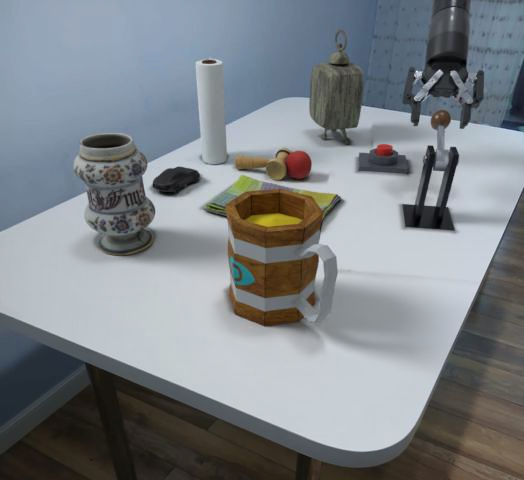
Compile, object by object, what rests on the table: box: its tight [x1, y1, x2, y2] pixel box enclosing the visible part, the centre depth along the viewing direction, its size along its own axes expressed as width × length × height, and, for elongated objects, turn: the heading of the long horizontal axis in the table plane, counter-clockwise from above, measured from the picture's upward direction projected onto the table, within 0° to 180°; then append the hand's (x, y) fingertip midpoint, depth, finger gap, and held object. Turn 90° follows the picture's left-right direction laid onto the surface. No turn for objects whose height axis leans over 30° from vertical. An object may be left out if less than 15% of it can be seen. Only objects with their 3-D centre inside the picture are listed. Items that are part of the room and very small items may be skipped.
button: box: [376, 143, 394, 156], centre depth 114 cm, size 4×4×2 cm
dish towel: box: [202, 174, 342, 222], centre depth 100 cm, size 18×24×3 cm
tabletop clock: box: [308, 28, 365, 145], centre depth 125 cm, size 14×9×25 cm, turn 14°
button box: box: [357, 147, 409, 175], centre depth 116 cm, size 11×9×4 cm
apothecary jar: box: [73, 132, 156, 256], centre depth 84 cm, size 12×12×18 cm
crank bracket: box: [401, 144, 460, 232], centre depth 92 cm, size 10×9×14 cm
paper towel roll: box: [194, 57, 228, 165], centre depth 114 cm, size 7×6×21 cm
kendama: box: [234, 147, 313, 181], centre depth 113 cm, size 8×6×18 cm
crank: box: [430, 109, 452, 172], centre depth 91 cm, size 13×4×4 cm, turn 171°
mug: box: [225, 188, 339, 327], centre depth 70 cm, size 20×14×15 cm
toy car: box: [151, 165, 201, 194], centre depth 108 cm, size 6×12×4 cm, turn 149°
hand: (439, 125), depth 93 cm, fingers open, 8 cm apart
